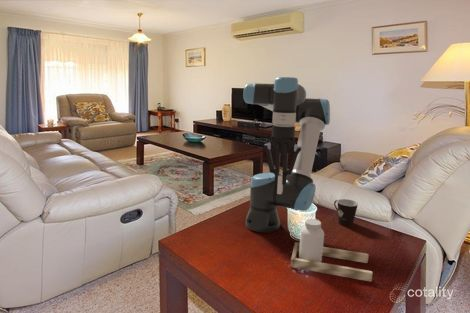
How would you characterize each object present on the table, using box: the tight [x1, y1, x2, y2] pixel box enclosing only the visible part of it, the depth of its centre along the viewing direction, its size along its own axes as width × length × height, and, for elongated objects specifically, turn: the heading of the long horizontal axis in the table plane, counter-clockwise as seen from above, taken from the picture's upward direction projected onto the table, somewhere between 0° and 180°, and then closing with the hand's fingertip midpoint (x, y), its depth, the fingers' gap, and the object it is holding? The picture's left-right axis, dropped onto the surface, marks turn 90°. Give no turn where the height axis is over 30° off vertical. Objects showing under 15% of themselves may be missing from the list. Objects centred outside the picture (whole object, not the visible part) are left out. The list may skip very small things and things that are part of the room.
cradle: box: [290, 241, 373, 283], centre depth 108 cm, size 26×12×3 cm, turn 73°
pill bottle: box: [298, 218, 325, 263], centre depth 109 cm, size 8×8×15 cm
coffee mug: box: [333, 198, 359, 227], centre depth 142 cm, size 12×9×10 cm
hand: (279, 192), depth 108 cm, fingers closed
